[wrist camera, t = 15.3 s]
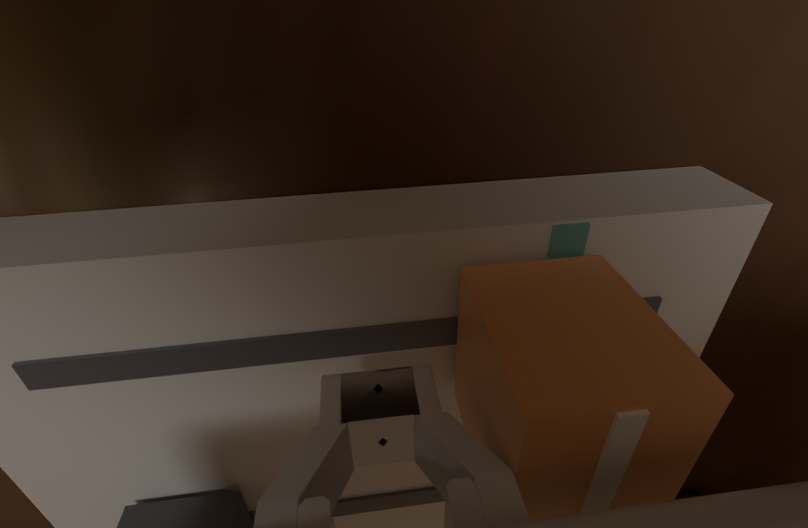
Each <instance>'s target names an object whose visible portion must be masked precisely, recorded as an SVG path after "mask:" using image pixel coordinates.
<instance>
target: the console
mask: <svg viewBox="0 0 808 528" xmlns="http://www.w3.org/2000/svg"><path fill="white" fill-rule="evenodd" d="M772 204H773V203H771V202H769V201H767V200H765V199H763V198H762V197H760V196H758V195H756V194H754V193H752V192H750V191H748V190H746V189H744V188H742V187H740V186H738V185H736V184H735V183H733V182H731V181H729V180H727V179H725V178H723V177H721V176H719V175H717V174H715V173H713V172H711V171H709V170H708V169H706V168H704V167H702V166H692V167H679V168H665V169H652V170H638V171H624V172H611V173H597V174H584V175H570V176H557V177H543V178H529V179H516V180H502V181H489V182H475V183H462V184H448V185H434V186H421V187H407V188H394V189H380V190H367V191H353V192H339V193H326V194H312V195H299V196H285V197H272V198H258V199H244V200H231V201H217V202H204V203H190V204H177V205H163V206H149V207H136V208H122V209H109V210H95V211H82V212H68V213H54V214H41V215H27V216H14V217H0V467H1V468H2V469H3V470H4V471H5V472H6V474H7V475H8V476H9V477H10V478H11V479H12V480H13V481H14V482H15V484H16V485H17V486H18V487H19V488H20V489H21V490H22V491H23V493H24V494H25V495H26V496H27V497H28V498H29V499H30V500H31V501H32V503H33V504H34V505H35V506H36V507H37V508H38V509H39V510H40V511H41V513H42V514H43V515H44V516H45V517H46V518H47V519H48V520H49V521H50V523H51V524H52V525H53V526H54V527H55V528H117V526H118V523H119V521H120V518H121V516H122V513H123V511H124V508H125V506H128V505H135V504H142V503H150V502H157V501H165V500H172V499H180V498H187V497H195V496H202V495H210V494H217V493H225V492H232V491H240V492H241V494H242V497H243V499H244V502H245V504H246V507H247V509H248V512H249V514H250V516H251V519H252V521H253V524H254V519H255V513H256V507H257V502H258V501H259V500H260V498H261V497H262V496H263V494H264V493H265V492H266V490H267V489H268V488H269V486H270V485H271V484H272V482H273V481H274V480H275V478H276V477H277V475H278V474H279V473H280V471H281V470H282V469H283V467H284V466H285V465H286V463H287V462H288V461H289V459H290V458H291V457H292V455H293V454H294V453H295V451H296V450H297V449H298V447H299V446H300V445H301V443H302V442H303V441H304V439H305V438H306V437H307V435H308V434H309V433H310V431H311V430H312V429H313V427H318V426H319V418H320V395H321V379H322V375H330V374H342V373H350V372H363V371H375V370H381V369H389V368H398V367H407V366H410V367H411V366H416V365H425V364H429V365H430V366H431V370H432V374H433V378H434V382H435V386H436V390H437V395H438V399H439V403H440V407H441V411H442V412H448V413H449V414H450V415H451V416H453V417H454V418H455V419H456V420H457V421H458V422H459V423H460V424H461V425H463V422H462V418H461V415H460V411H459V408H458V404H457V401H456V397H455V393H454V383H455V366H456V348H457V330H458V312H459V295H460V277H461V267H468V266H479V265H490V264H501V263H512V262H523V261H533V260H544V259H555V258H566V257H577V256H588V255H599V254H601V255H602V256H603V257H604V258H605V259H606V260H607V261H608V262H609V263H610V265H611V266H612V267H613V268H614V269H615V270H616V271H617V272H618V273H619V274H620V275H621V276H622V277H623V278H624V279H625V280H626V281H627V282H628V283H629V284H630V286H631V287H632V288H633V289H634V290H635V291H636V292H637V293H638V294H639V295H640V296H641V297H642V298H643V299H644V300H645V301H646V302H647V303H648V304H649V305H650V306H651V308H652V309H653V310H654V311H655V312H656V313H657V314H658V315H659V316H660V317H661V318H662V319H663V320H664V321H665V322H666V323H667V324H668V325H669V326H670V327H671V329H672V330H673V331H674V332H675V333H676V334H677V335H678V336H679V337H680V338H681V339H682V340H683V341H684V342H685V343H686V344H687V345H688V346H689V347H690V348H691V350H692V351H693V352H694V353H695V354H696V355H697V356H698V357H699V358H700V356H701V353H702V351H703V349H704V347H705V345H706V343H707V341H708V339H709V337H710V335H711V332H712V330H713V328H714V326H715V324H716V322H717V320H718V318H719V316H720V314H721V311H722V309H723V307H724V305H725V303H726V301H727V299H728V297H729V295H730V293H731V290H732V288H733V286H734V284H735V282H736V280H737V278H738V276H739V274H740V272H741V269H742V267H743V265H744V263H745V261H746V259H747V257H748V255H749V253H750V251H751V248H752V246H753V244H754V242H755V240H756V238H757V236H758V234H759V232H760V230H761V227H762V225H763V223H764V221H765V219H766V217H767V215H768V213H769V211H770V209H771V206H772ZM463 426H464V425H463ZM444 512H445V499H444V498H443V497H442V495H441V494H440V493H439V492H438V490H437V489H436V488H435V487H434V485H433V484H432V483H431V482H430V480H429V479H428V478H427V477H426V475H425V474H424V473H423V472H422V470H421V469H420V468H419V467H418V465H417V464H416V463H415V461H405V462H395V463H385V464H378V465H371V466H365V467H358V468H354V471H353V473H352V475H351V477H350V479H349V481H348V483H347V485H346V487H345V489H344V490H343V492H342V494H341V496H340V498H339V500H338V502H337V504H336V506H335V508H334V510H333V512H332V515H333V520H334V525H335V528H443V527H444Z"/></svg>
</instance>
